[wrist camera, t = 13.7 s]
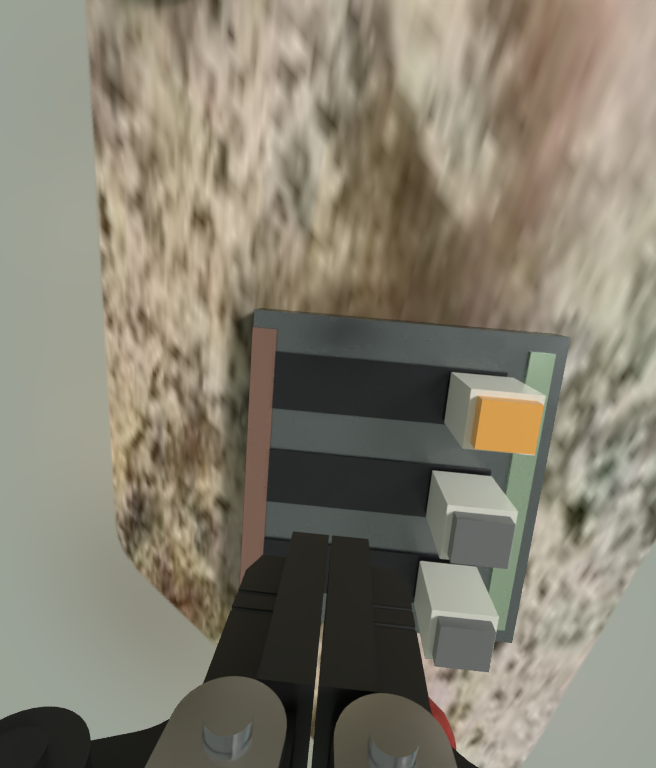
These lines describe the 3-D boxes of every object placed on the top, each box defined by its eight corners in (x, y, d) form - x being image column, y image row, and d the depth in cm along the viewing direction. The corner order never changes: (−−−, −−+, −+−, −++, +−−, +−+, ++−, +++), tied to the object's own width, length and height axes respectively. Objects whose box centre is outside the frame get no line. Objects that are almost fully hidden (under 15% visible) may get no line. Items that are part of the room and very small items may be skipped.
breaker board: (260, 308, 29) (253, 309, 27) (555, 334, 28) (572, 337, 26) (245, 593, 33) (238, 615, 31) (502, 621, 32) (513, 645, 30)
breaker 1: (432, 470, 28) (451, 512, 22) (491, 476, 27) (523, 519, 22) (425, 516, 28) (442, 567, 23) (483, 522, 28) (513, 575, 23)
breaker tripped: (451, 372, 26) (475, 392, 21) (513, 377, 26) (552, 399, 21) (444, 422, 27) (466, 454, 22) (504, 428, 27) (541, 461, 22)
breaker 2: (419, 560, 29) (434, 620, 24) (476, 566, 29) (503, 627, 24) (413, 603, 29) (427, 670, 24) (469, 609, 29) (494, 678, 24)
